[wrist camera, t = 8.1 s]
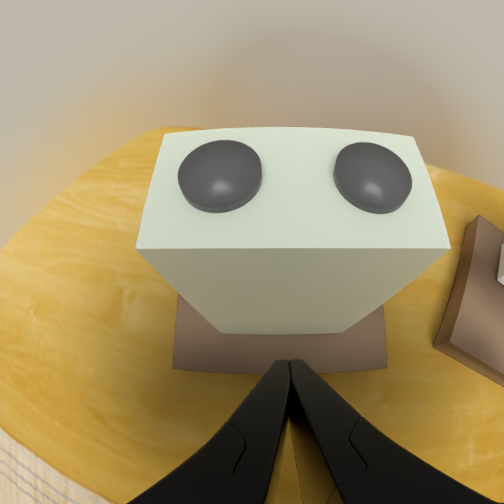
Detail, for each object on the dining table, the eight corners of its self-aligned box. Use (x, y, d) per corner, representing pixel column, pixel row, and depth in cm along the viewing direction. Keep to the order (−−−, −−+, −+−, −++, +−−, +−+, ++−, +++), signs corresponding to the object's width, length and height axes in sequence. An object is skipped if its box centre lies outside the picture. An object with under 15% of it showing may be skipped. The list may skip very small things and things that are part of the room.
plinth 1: (374, 369, 15) (387, 367, 13) (183, 370, 16) (172, 368, 14) (359, 217, 19) (367, 201, 17) (197, 217, 20) (190, 201, 18)
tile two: (341, 332, 14) (458, 241, 4) (221, 333, 14) (128, 241, 5) (338, 276, 15) (416, 128, 6) (224, 277, 15) (161, 124, 6)
